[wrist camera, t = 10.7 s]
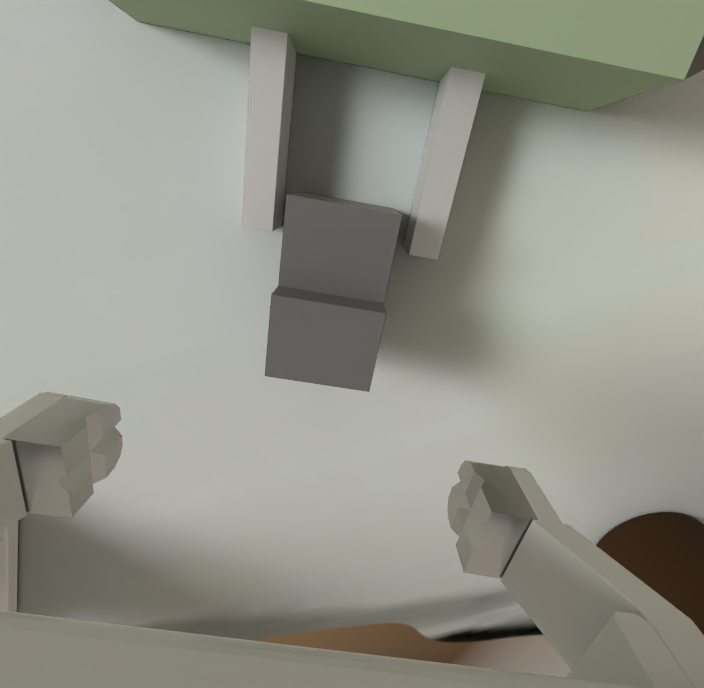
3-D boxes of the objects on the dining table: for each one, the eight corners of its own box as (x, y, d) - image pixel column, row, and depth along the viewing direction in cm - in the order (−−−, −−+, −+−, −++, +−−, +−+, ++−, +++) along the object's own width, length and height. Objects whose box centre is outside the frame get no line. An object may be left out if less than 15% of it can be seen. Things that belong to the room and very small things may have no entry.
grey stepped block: (366, 339, 24) (369, 391, 18) (288, 326, 23) (264, 376, 17) (392, 208, 20) (406, 217, 14) (302, 192, 20) (279, 195, 14)
